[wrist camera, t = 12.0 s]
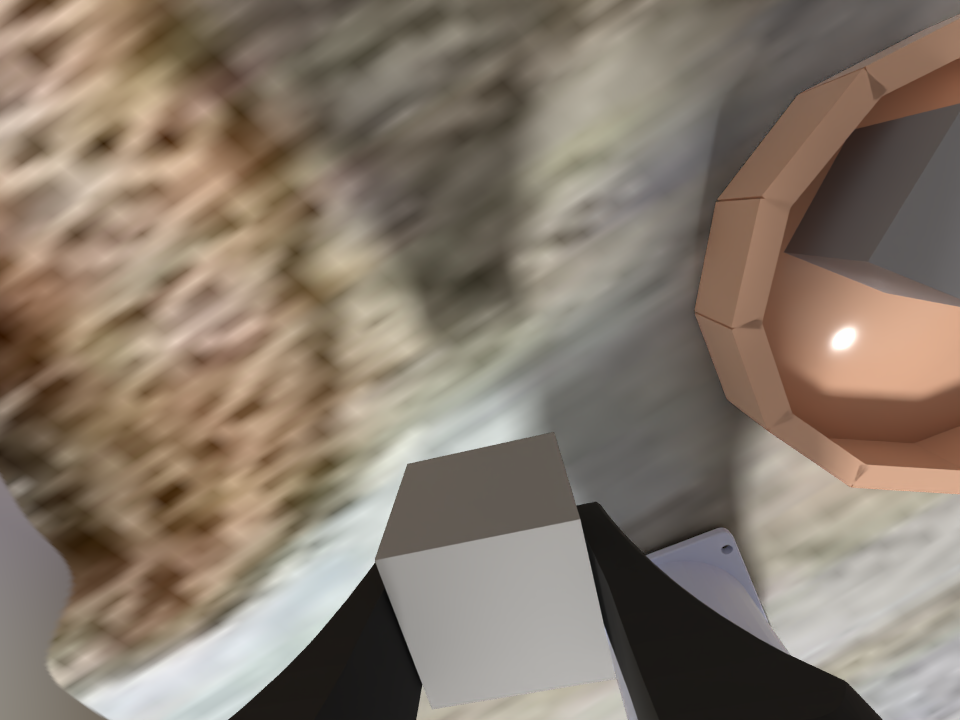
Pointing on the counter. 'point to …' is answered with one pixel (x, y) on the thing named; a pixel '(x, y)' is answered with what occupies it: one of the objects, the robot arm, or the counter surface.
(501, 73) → the counter surface
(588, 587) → the grey cube
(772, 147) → the bowl
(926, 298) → the grey cube
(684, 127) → the counter surface
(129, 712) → the counter surface
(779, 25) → the counter surface
